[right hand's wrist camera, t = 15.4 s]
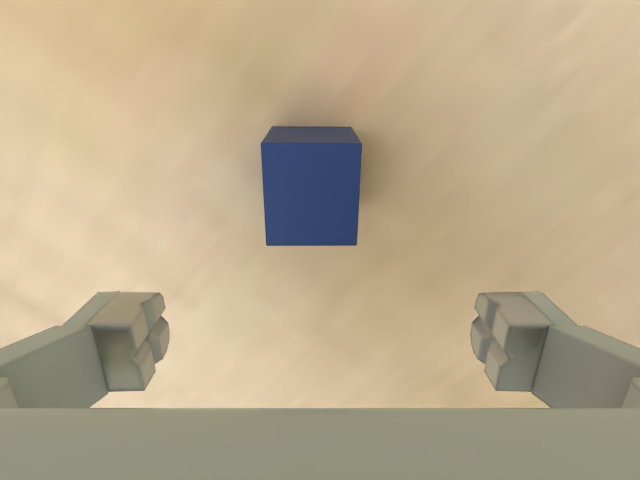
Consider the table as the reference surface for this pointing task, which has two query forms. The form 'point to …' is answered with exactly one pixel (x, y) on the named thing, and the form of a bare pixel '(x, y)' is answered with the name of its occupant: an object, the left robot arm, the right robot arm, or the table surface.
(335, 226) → the brick
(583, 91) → the table surface
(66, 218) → the table surface
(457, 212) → the table surface
